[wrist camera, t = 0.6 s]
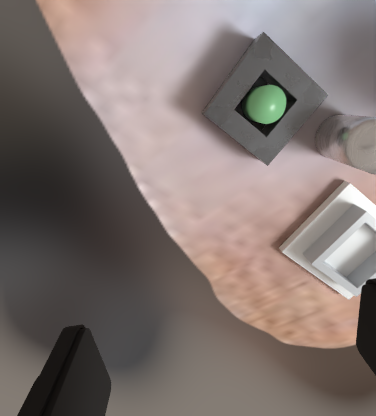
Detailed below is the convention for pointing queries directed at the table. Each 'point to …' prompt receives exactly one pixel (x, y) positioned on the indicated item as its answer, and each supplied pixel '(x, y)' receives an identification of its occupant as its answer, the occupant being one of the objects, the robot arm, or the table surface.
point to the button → (264, 104)
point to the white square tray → (338, 241)
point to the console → (274, 75)
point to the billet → (349, 141)
